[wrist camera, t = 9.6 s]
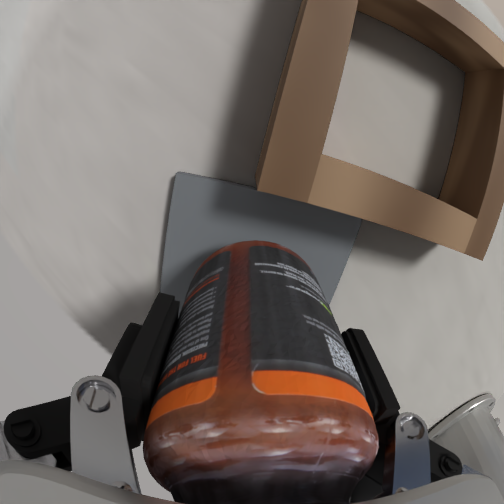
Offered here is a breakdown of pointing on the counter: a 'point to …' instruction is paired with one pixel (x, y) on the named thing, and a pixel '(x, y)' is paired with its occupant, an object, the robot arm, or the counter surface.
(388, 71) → the counter surface
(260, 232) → the slate coaster
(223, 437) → the supplement bottle
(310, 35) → the pocket frame
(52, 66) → the counter surface
